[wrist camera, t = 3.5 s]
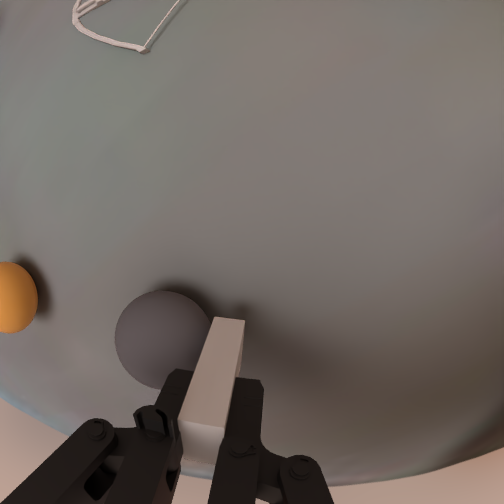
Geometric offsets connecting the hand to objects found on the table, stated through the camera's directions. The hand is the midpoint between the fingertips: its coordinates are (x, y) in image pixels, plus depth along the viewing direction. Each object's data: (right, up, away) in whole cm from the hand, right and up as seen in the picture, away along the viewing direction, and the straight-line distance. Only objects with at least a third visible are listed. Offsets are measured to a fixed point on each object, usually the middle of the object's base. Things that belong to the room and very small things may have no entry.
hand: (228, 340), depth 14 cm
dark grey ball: (-4, 0, +1) cm, 4 cm away
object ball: (-17, +1, +2) cm, 18 cm away
